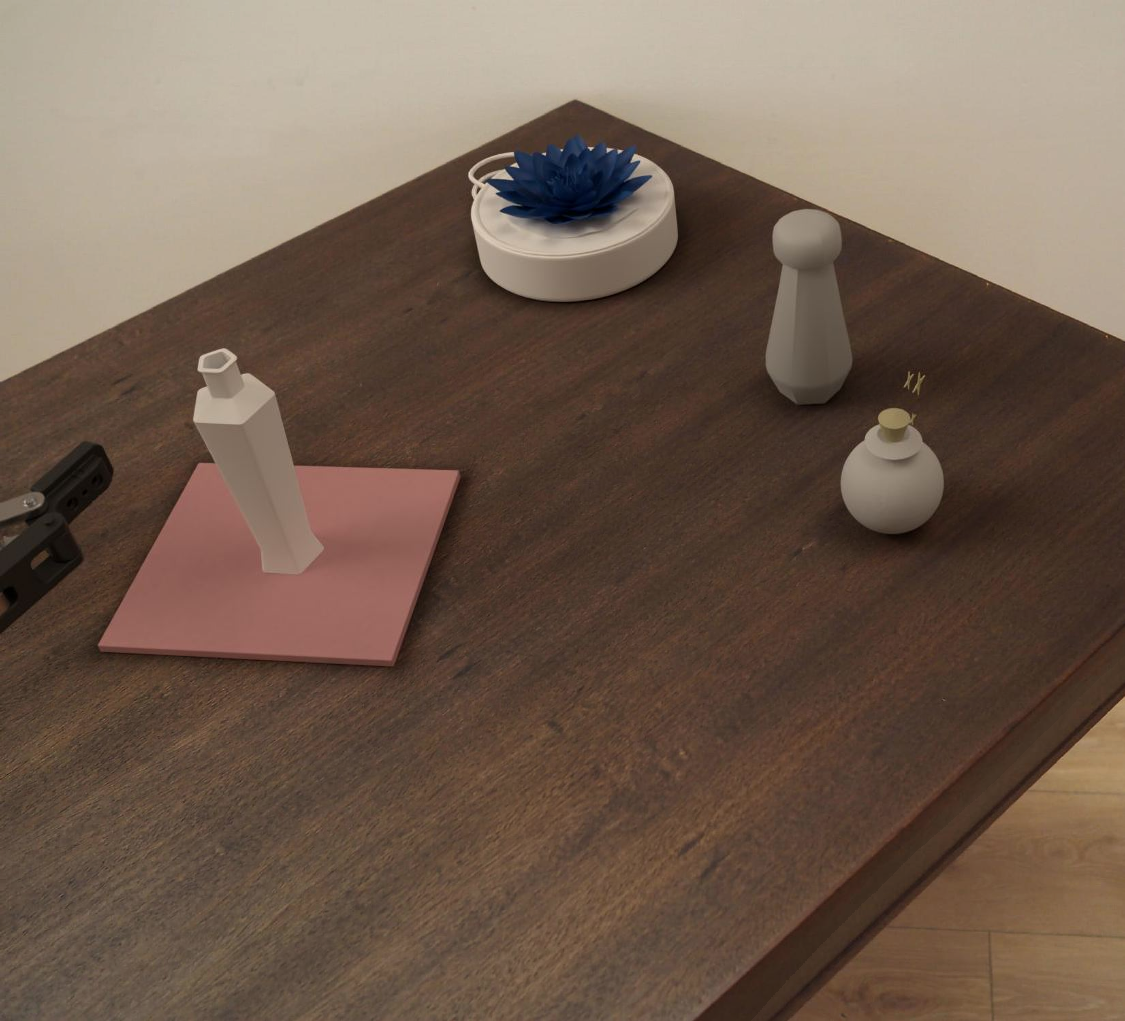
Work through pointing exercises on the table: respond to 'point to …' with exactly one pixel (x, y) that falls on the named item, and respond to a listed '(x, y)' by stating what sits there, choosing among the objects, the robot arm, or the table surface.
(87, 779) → the table surface
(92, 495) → the robot arm
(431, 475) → the cosmetics mat
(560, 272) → the box with blue lotus
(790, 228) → the salt shaker
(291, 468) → the perfume bottle
